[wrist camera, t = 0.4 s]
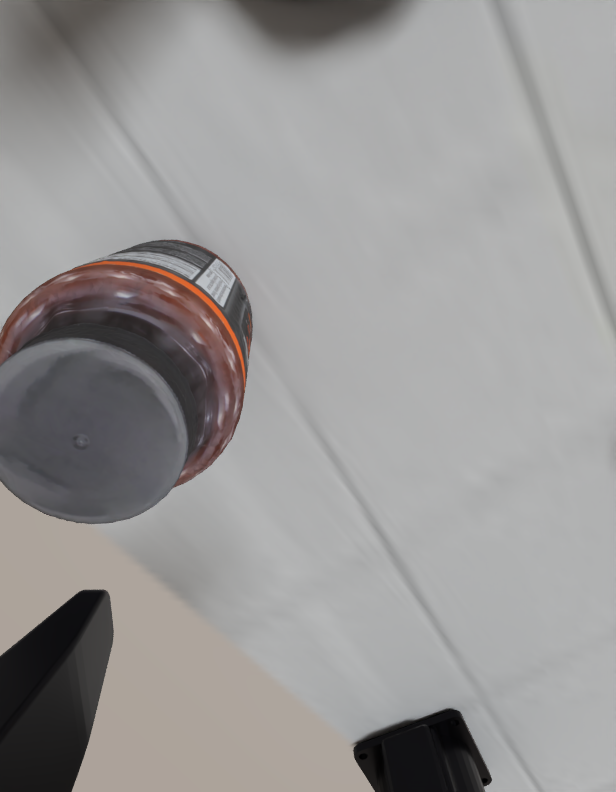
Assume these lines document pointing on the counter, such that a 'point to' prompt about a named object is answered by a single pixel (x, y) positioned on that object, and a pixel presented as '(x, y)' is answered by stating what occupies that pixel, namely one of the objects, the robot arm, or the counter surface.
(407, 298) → the counter surface
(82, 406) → the supplement bottle
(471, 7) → the counter surface
